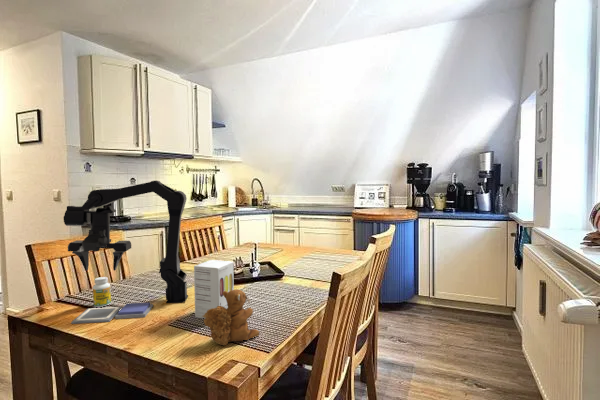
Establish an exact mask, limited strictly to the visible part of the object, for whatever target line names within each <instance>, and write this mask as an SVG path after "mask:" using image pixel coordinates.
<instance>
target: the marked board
mask: <svg viewBox="0 0 600 400" xmlns="http://www.w3.org/2000/svg"><path fill="white" fill-rule="evenodd" d="M121 308H123V306H106V307H102V308H96V307H90V308H89V307H88V308H86V309H85V310H84V311H83V312H82V313H80V314H79V315H78V316H77V317H75V318H74V319H73V320H72V321H71V323H70V324H72V325H73V324H74V325H75V324H89V323H91V324H92V323H108V322H111V321H112V319H114V318H115V316H116V315H117V313H118V312H119V310H120V309H121Z"/></svg>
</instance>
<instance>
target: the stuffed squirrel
mask: <svg viewBox="0 0 600 400" xmlns="http://www.w3.org/2000/svg"><path fill="white" fill-rule="evenodd" d="M223 296H224V297H225V298H226V301H227V306H228V308H227V309H226V308H225V307H223V306H217V307H216V308H212V309H209V310H208V311H207V313H205V314H204V315H202V316H203V317H204V318H206V319H203V324H204V325H205V326H206V327H208V328H209V330H210V332H211V333H210V336H211V337H210V338H212V341H214V342H215V343H216V344H218V345H220V346H227V345H228V344H229V343H230V342H244V341H243V340H247V341H249V340H248V339H250V338H253V337H255V336H257V335H258V336H259V335H260V331H259V330H257V329H255V328H253V329H252V328H251V329H249V323H248V320H249V318H251V317H252V315H253V313H254V309H253V308H251V307H248V308H246V309H245V308H244V307H243V306H245V303H246V301H247V302H248V303H250V302H251V300H250V299H249V297H248V296H247V295H246V293H245V292H244V291H243V290H241V289H238V288H237V289H234V290H231V291H229V292H227V291H224V292H223ZM258 336H257V337H258ZM255 338H256V337H255ZM253 339H254V338H253ZM250 340H251V339H250ZM228 342H229V343H228Z"/></svg>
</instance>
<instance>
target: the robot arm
mask: <svg viewBox="0 0 600 400" xmlns="http://www.w3.org/2000/svg"><path fill="white" fill-rule="evenodd" d="M150 193H154V194H156V195H157V196H159V197H160V198H161V199H163V200H164V201H166V203H167V204H166V205H167V210H168V211H167V212H168V216H169V219H168V231H167V243H166V251H165V252H166V255H165V257H162V258H161V260H160V261H159V270H158V274H160V278H161V279H162V280H163V281H164V282H165V283H166V287H165V300H166V301H165V303H166V304H174V303H175V304H179V303H185V302H186V301H187V299H188V298H189V294H188V287H187V283H188V282H187V281H185V280H186V277H187V275H188V274H187V273H186V272H185V271H184V270H182V269H181V262H180V258H179V246H180V245H179V244H180V237H181V233H180V232H181V224H182V216H183V212H184V209H185V207H186V202H187V199H188V198H187V195H186V194H185V193H184V191H181V190H175V189H173V188H171V187H170V186H168V185H166V184H163V182H161V181H160V180H151V181H148V182H145V183H140V184H134V185H129V186H125V187H120V188H101V189H93V190H91V191H89V193H88V196H87V200H86V201H85V202H84V203H83V204H82V206H80V205H79V206H76V205H67V206H66V210H65V212H64V214H63V223H64V225H65V226H67V227H69V226H71V227H72V226H74V227H80V226H82V227H85V226H87V224H88V223H90V229H88V235H87V236H86V237H85V238H84V239H83V240H81V239H77V240H76V239H75V240H74V241H71V242H68V244H67V252H71V253H72V254H73V255H76V256H77V257H78V258H79V260H80V262H81V265H82V266H83V268H84V270H85V271H87V272H88V270H89V262H90V261H89V259H90V252H94V253H95V252H99V251H100V250H101V249H104V250H105V249H106V250H107V249H113V250H114V251H113V252H112V256H113V263H112V264H113V265H112V269H113V271H116V270H117V269H118V266H119V263H120V261H121V258H122V257H123V255H124V253H126V252H127V251H129V250H131V249H132V242H131V241H130V240H118V241H116V242H112V239H111V236H110V235H111V233H110V232H111V231H112V227H110V226H111V225H110V223H111V221H110V214H115V213H116V212H117V210H116V209H115V208H113V206H112V205H110V204H112V203H115V202H117V201H119V200H122V199H126V198H131V197H136V196H140V195H145V194H150ZM107 205H108V206H107ZM104 206H107V207H104ZM92 209H95V210H92Z"/></svg>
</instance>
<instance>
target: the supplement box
mask: <svg viewBox="0 0 600 400" xmlns="http://www.w3.org/2000/svg"><path fill="white" fill-rule="evenodd" d="M234 277H235V275H234V261H228V260H219V259H218V260H217V259H209V260H207V261H204V262H201V263H199V264H195V265H194V266H193V279H194V281H193V282H194V283H193V286H194V317H195V318H199V319H203V318H204V317H203V316H202V315H204V314H205V313H207V311H208V310H209V309H212V308H216V307H217V306H223V307H225V308H226V309H227V308H228V306H227V301H226V298H225V297H224V296H223V292H224V291H227V292H229V291H231V290H235V286H234V285H235V284H234V283H235V282H234ZM204 319H206V318H204ZM204 319H203V320H204Z"/></svg>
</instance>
